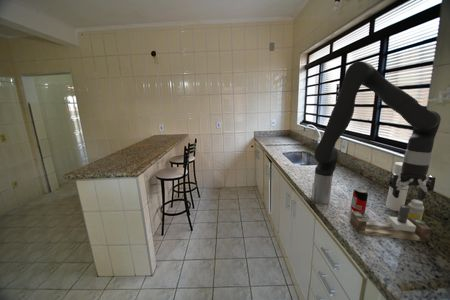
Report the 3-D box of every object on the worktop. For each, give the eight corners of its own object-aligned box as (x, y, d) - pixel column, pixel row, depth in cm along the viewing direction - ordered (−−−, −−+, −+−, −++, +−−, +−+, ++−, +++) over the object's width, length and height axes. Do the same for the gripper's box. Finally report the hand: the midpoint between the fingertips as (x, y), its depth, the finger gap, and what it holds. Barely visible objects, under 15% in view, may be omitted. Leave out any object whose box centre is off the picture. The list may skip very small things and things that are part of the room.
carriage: (395, 229, 81) (399, 209, 79) (387, 221, 87) (391, 202, 84) (414, 231, 80) (420, 211, 77) (405, 223, 85) (410, 204, 83)
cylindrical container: (396, 212, 99) (407, 167, 93) (382, 205, 106) (391, 162, 99) (406, 210, 101) (417, 165, 95) (391, 203, 108) (401, 161, 101)
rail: (356, 232, 84) (359, 220, 83) (349, 221, 92) (351, 210, 90) (427, 241, 78) (431, 228, 77) (414, 229, 86) (417, 217, 84)
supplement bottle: (411, 216, 95) (416, 198, 93) (423, 223, 90) (429, 204, 88) (401, 217, 95) (406, 198, 92) (413, 224, 90) (418, 204, 87)
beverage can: (365, 215, 97) (369, 194, 94) (350, 211, 100) (354, 191, 97) (364, 209, 102) (367, 189, 99) (350, 206, 105) (353, 186, 102)
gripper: (401, 163, 74) (393, 200, 78) (446, 165, 71) (435, 204, 75) (389, 158, 81) (383, 192, 85) (430, 159, 78) (421, 195, 82)
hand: (407, 198), depth 80 cm, fingers open, 8 cm apart
